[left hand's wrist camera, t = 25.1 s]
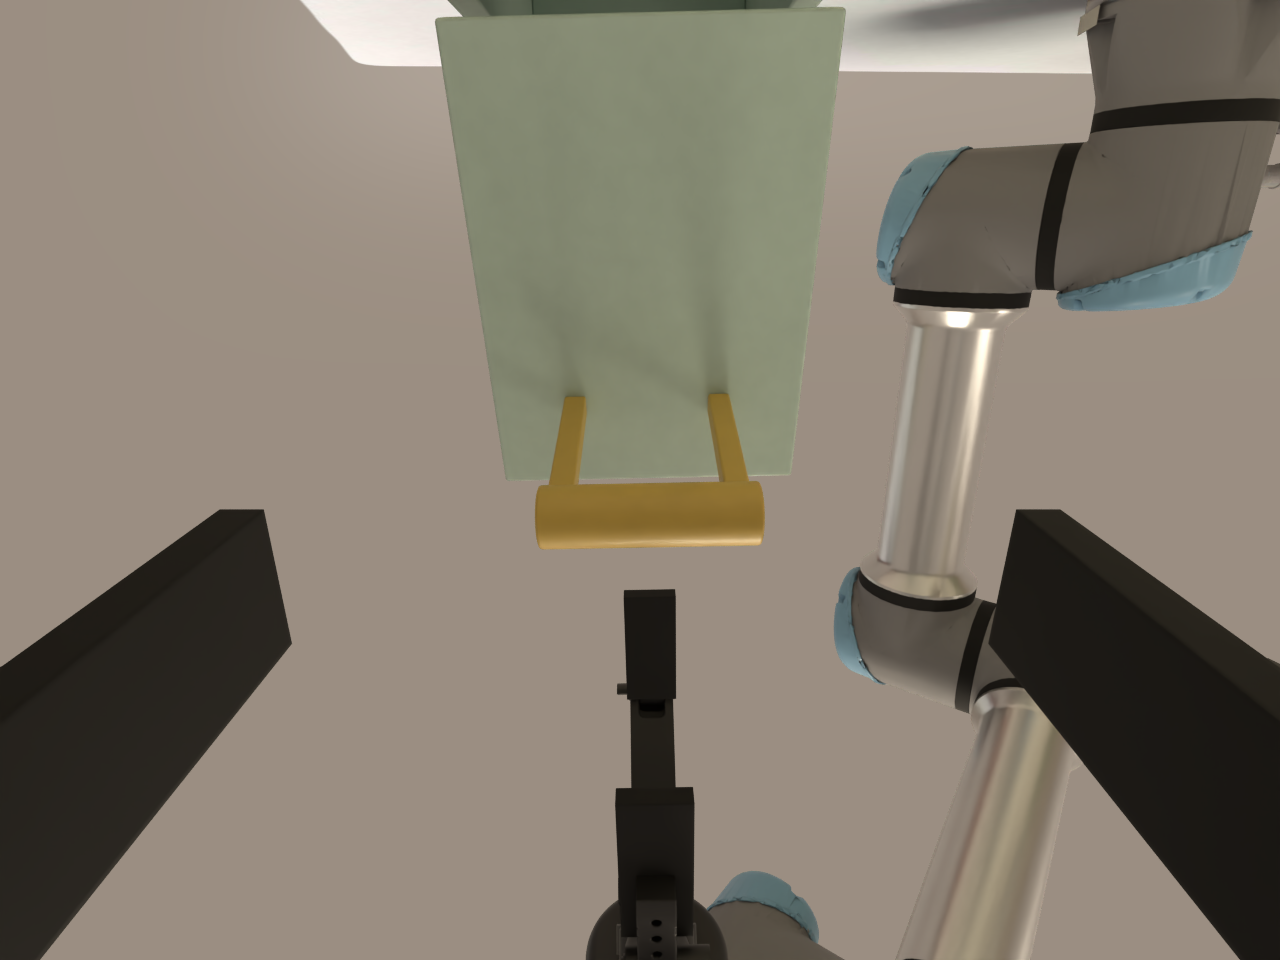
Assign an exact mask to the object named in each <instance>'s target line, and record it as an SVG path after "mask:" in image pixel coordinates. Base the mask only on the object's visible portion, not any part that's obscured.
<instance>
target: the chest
mask: <svg viewBox="0 0 1280 960" xmlns="http://www.w3.org/2000/svg"><path fill="white" fill-rule="evenodd" d="M448 1H449V2H450V3H451V4H452V5H453V6H454V7H455V8H456V9H457V11H458V12H459V13H460V14H461V15H462V16H463V17H469V16H507V15H545V14H583V13H622V12H660V11H698V10H737V9H775V8H813V7H817V6H818V4H819V3H820V2H821V1H822V0H448Z"/></svg>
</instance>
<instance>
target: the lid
mask: <svg viewBox="0 0 1280 960" xmlns="http://www.w3.org/2000/svg"><path fill="white" fill-rule="evenodd" d="M845 14H846V10H845V8H843V7H813V8H775V9H737V10H698V11H660V12H622V13H583V14H545V15H507V16H469V17H442V18H437V19H436V20H435V25H436V32H437V38H438V44H439V51H440V57H441V64H442V70H443V76H444V83H445V89H446V96H447V102H448V109H449V115H450V122H451V128H452V135H453V141H454V147H455V154H456V160H457V167H458V173H459V180H460V186H461V193H462V199H463V205H464V212H465V218H466V225H467V231H468V238H469V244H470V250H471V257H472V263H473V270H474V276H475V283H476V289H477V296H478V302H479V308H480V315H481V321H482V328H483V334H484V341H485V347H486V353H487V360H488V366H489V373H490V379H491V386H492V392H493V399H494V405H495V411H496V418H497V424H498V431H499V437H500V443H501V450H502V457H503V463H504V469H505V475H506V479H507V480H508V481H515V480H550V481H549V485H541V486H539V488H538V490H537V494H536V502H535V528H536V538H537V542H538V545H539V548H540V549H589V548H642V547H696V546H749V545H760V544H761V543H762V540H763V536H764V525H765V511H764V498H763V492H762V488H761V485H760V483H759V482H757V481H749V479H748V476H766V475H767V476H768V475H790V474H791V469H792V461H793V452H794V444H795V435H796V427H797V419H798V410H799V402H800V393H801V385H802V377H803V368H804V360H805V351H806V343H807V334H808V326H809V318H810V309H811V301H812V292H813V284H814V275H815V267H816V259H817V250H818V242H819V233H820V225H821V216H822V208H823V199H824V191H825V182H826V174H827V166H828V157H829V149H830V140H831V132H832V123H833V115H834V107H835V98H836V90H837V81H838V73H839V65H840V56H841V48H842V39H843V31H844V22H845ZM717 476H719V482H684V483H634V484H582V485H578V482H579V479H615V478H666V477H717Z"/></svg>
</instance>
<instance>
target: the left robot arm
mask: <svg viewBox="0 0 1280 960" xmlns="http://www.w3.org/2000/svg"><path fill="white" fill-rule="evenodd" d="M291 644H292V642H291V637H290V632H289V628H288V623H287V618H286V613H285V609H284V604H283V599H282V594H281V590H280V585H279V580H278V575H277V571H276V566H275V561H274V556H273V551H272V547H271V542H270V537H269V532H268V528H267V523H266V518H265V513H264V510H219V511H217V512H216V513H214V514H213V515H211V516H210V517H209V518H207V519H206V520H205V521H203V522H202V523H200V524H199V525H198V526H196V527H195V528H193V529H192V530H191V531H189V532H188V533H186V534H185V535H184V536H182V537H181V538H180V539H178V540H177V541H175V542H174V543H173V544H171V545H170V546H169V547H167V548H166V549H164V550H163V551H161V552H160V553H159V554H157V555H156V556H155V557H153V558H152V559H150V560H149V561H148V562H146V563H145V564H143V565H142V566H141V567H139V568H138V569H137V570H135V571H134V572H132V573H131V574H130V575H128V576H127V577H125V578H124V579H123V580H121V581H120V582H118V583H117V584H116V585H114V586H113V587H112V588H110V589H109V590H107V591H106V592H105V593H103V594H102V595H100V596H99V597H98V598H96V599H95V600H93V601H92V602H91V603H89V604H88V605H87V606H85V607H84V608H82V609H81V610H80V611H78V612H77V613H75V614H74V615H73V616H71V617H70V618H68V619H67V620H66V621H64V622H63V623H62V624H60V625H59V626H57V627H56V628H55V629H53V630H52V631H50V632H49V633H48V634H46V635H45V636H43V637H42V638H41V639H39V640H38V641H37V642H35V643H34V644H32V645H31V646H30V647H28V648H27V649H25V650H24V651H23V652H21V653H20V654H18V655H17V656H16V657H14V658H13V659H12V660H10V661H9V662H7V663H6V664H5V665H3V666H1V667H0V960H40V959H41V958H42V957H43V955H44V954H45V953H46V952H47V950H48V949H49V948H50V947H51V945H52V944H53V943H54V941H55V940H56V939H57V938H58V937H59V935H60V934H61V933H62V931H63V930H64V929H65V928H66V926H67V925H68V924H69V923H70V921H71V920H72V919H73V918H74V916H75V915H76V914H77V913H78V911H79V910H80V909H81V908H82V906H83V905H84V904H85V903H86V901H87V900H88V899H89V898H90V896H91V895H92V894H93V893H94V891H95V890H96V889H97V887H98V886H99V885H100V884H101V883H102V881H103V880H104V879H105V878H106V876H107V875H108V874H109V873H110V871H111V870H112V869H113V867H114V866H115V865H116V864H117V862H118V861H119V860H120V859H121V857H122V856H123V855H124V854H125V852H126V851H127V850H128V849H129V847H130V846H131V845H132V844H133V842H134V841H135V840H136V839H137V837H138V836H139V835H140V834H141V832H142V831H143V830H144V829H145V827H146V826H147V825H148V824H149V822H150V821H151V820H152V819H153V817H154V816H155V815H156V814H157V812H158V811H159V810H160V809H161V807H162V806H163V805H164V803H165V802H166V801H167V800H168V798H169V797H170V796H171V795H172V793H173V792H174V791H175V790H176V788H177V787H178V786H179V785H180V783H181V782H182V781H183V780H184V778H185V777H186V776H187V775H188V773H189V772H190V771H191V770H192V768H193V767H194V766H195V765H196V763H197V762H198V761H199V760H200V758H201V757H202V756H203V755H204V753H205V752H206V751H207V750H208V748H209V747H210V746H211V745H212V743H213V742H214V741H215V739H216V738H217V737H218V736H219V734H220V733H221V732H222V731H223V729H224V728H225V727H226V726H227V724H228V723H229V722H230V721H231V719H232V718H233V717H234V716H235V714H236V713H237V712H238V711H239V709H240V708H241V707H242V706H243V704H244V703H245V702H246V701H247V699H248V698H249V697H250V696H251V694H252V693H253V692H254V690H255V689H256V688H257V687H258V685H259V684H260V683H261V682H262V681H263V679H264V678H265V677H266V676H267V674H268V673H269V672H270V670H271V669H272V668H273V667H274V665H275V664H276V663H277V662H278V660H279V659H280V658H281V657H282V655H283V654H284V653H285V652H286V650H287V649H288V648H289V647H290V645H291ZM988 644H989V645H990V647H991V648H992V649H993V650H994V652H995V653H996V654H997V655H998V657H999V658H1000V659H1001V660H1002V662H1003V663H1004V664H1005V665H1006V667H1007V668H1008V669H1009V671H1010V672H1011V673H1012V674H1013V676H1014V677H1015V678H1016V679H1017V681H1018V682H1019V683H1020V684H1021V686H1022V687H1023V688H1024V689H1025V691H1026V692H1027V693H1028V694H1029V696H1030V697H1031V698H1032V699H1033V701H1034V702H1035V703H1036V704H1037V706H1038V707H1039V708H1040V709H1041V711H1042V712H1043V713H1044V714H1045V716H1046V717H1047V718H1048V719H1049V721H1050V722H1051V723H1052V724H1053V726H1054V727H1055V728H1056V729H1057V731H1058V732H1059V733H1060V734H1061V736H1062V737H1063V738H1064V740H1065V741H1066V742H1067V743H1068V745H1069V746H1070V747H1071V748H1072V750H1073V751H1074V752H1075V753H1076V755H1077V756H1078V757H1079V758H1080V760H1081V761H1082V762H1083V763H1084V765H1085V766H1086V767H1087V768H1088V770H1089V771H1090V772H1091V773H1092V775H1093V776H1094V777H1095V778H1096V780H1097V781H1098V782H1099V783H1100V785H1101V786H1102V787H1103V788H1104V790H1105V791H1106V792H1107V793H1108V795H1109V796H1110V797H1111V798H1112V800H1113V801H1114V802H1115V803H1116V805H1117V806H1118V807H1119V808H1120V810H1121V811H1122V812H1123V814H1124V815H1125V816H1126V817H1127V819H1128V820H1129V821H1130V822H1131V824H1132V825H1133V826H1134V827H1135V829H1136V830H1137V831H1138V832H1139V834H1140V835H1141V836H1142V837H1143V839H1144V840H1145V841H1146V842H1147V844H1148V845H1149V846H1150V847H1151V849H1152V850H1153V851H1154V852H1155V854H1156V855H1157V856H1158V857H1159V859H1160V860H1161V861H1162V862H1163V864H1164V865H1165V866H1166V867H1167V869H1168V870H1169V871H1170V873H1171V874H1172V875H1173V876H1174V878H1175V879H1176V880H1177V881H1178V882H1179V884H1180V885H1181V886H1182V888H1183V889H1184V890H1185V891H1186V893H1187V894H1188V895H1189V896H1190V898H1191V899H1192V900H1193V901H1194V903H1195V904H1196V905H1197V906H1198V908H1199V909H1200V910H1201V911H1202V913H1203V914H1204V915H1205V916H1206V918H1207V919H1208V920H1209V921H1210V923H1211V924H1212V925H1213V926H1214V928H1215V929H1216V930H1217V931H1218V933H1219V934H1220V935H1221V936H1222V938H1223V939H1224V940H1225V942H1226V943H1227V944H1228V945H1229V947H1230V948H1231V949H1232V950H1233V952H1234V953H1235V954H1236V955H1237V957H1238V958H1239V959H1240V960H1280V664H1279V663H1277V662H1275V661H1273V660H1271V659H1268V658H1266V657H1264V656H1263V655H1262V654H1260V653H1259V652H1257V651H1256V650H1255V649H1253V648H1252V647H1250V646H1249V645H1248V644H1246V643H1245V642H1243V641H1242V640H1241V639H1239V638H1238V637H1237V636H1235V635H1234V634H1232V633H1231V632H1230V631H1228V630H1227V629H1225V628H1224V627H1223V626H1221V625H1220V624H1218V623H1217V622H1216V621H1214V620H1213V619H1212V618H1210V617H1209V616H1207V615H1206V614H1205V613H1203V612H1202V611H1200V610H1199V609H1198V608H1196V607H1195V606H1193V605H1192V604H1191V603H1189V602H1188V601H1187V600H1185V599H1184V598H1182V597H1181V596H1180V595H1178V594H1177V593H1175V592H1174V591H1173V590H1171V589H1170V588H1168V587H1167V586H1166V585H1164V584H1163V583H1161V582H1160V581H1159V580H1157V579H1156V578H1155V577H1153V576H1152V575H1150V574H1149V573H1148V572H1146V571H1145V570H1144V569H1142V568H1141V567H1139V566H1138V565H1137V564H1135V563H1134V562H1132V561H1131V560H1130V559H1128V558H1127V557H1125V556H1124V555H1123V554H1121V553H1120V552H1118V551H1117V550H1116V549H1114V548H1113V547H1111V546H1110V545H1109V544H1107V543H1106V542H1105V541H1103V540H1102V539H1100V538H1099V537H1098V536H1096V535H1095V534H1094V533H1092V532H1091V531H1089V530H1088V529H1087V528H1085V527H1084V526H1082V525H1081V524H1080V523H1078V522H1077V521H1075V520H1074V519H1073V518H1071V517H1070V516H1069V515H1067V514H1066V513H1064V512H1063V511H1062V510H1016V513H1015V518H1014V523H1013V528H1012V532H1011V537H1010V542H1009V547H1008V552H1007V556H1006V561H1005V566H1004V570H1003V575H1002V580H1001V585H1000V590H999V595H998V599H997V604H996V609H995V613H994V618H993V623H992V628H991V632H990V637H989V642H988Z"/></svg>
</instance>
